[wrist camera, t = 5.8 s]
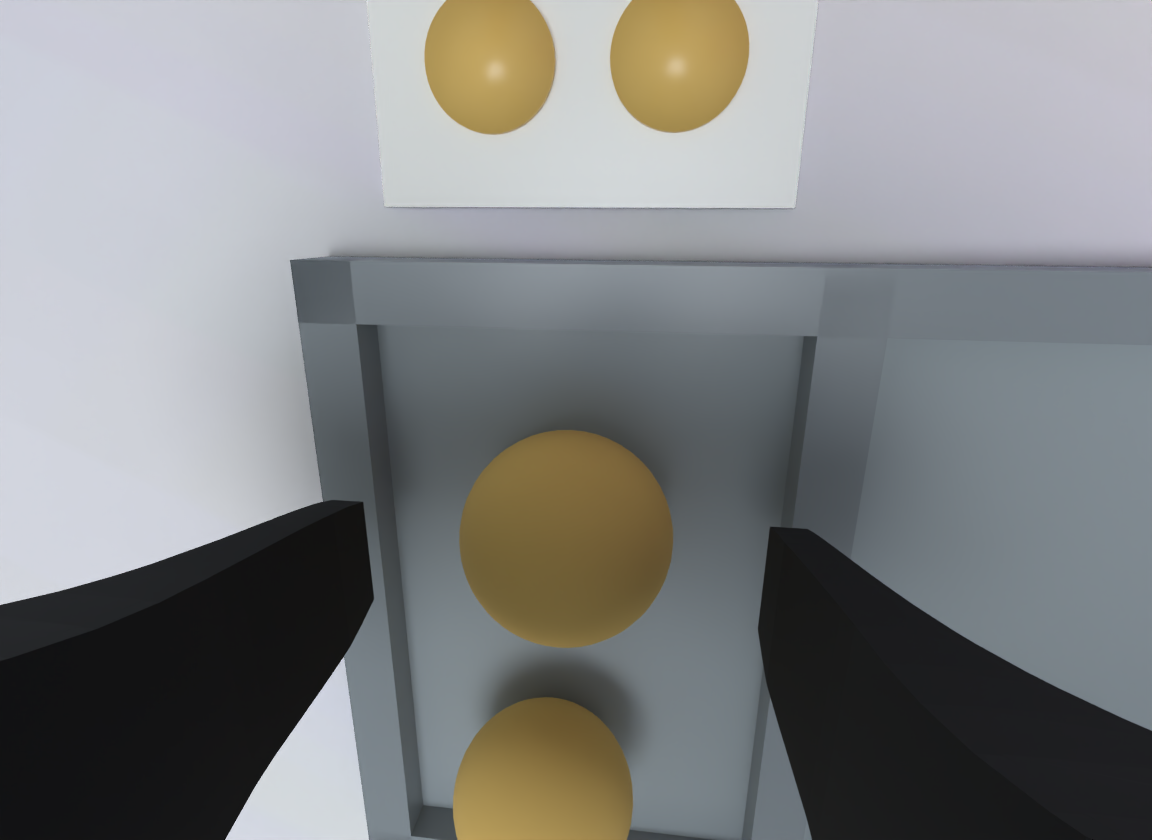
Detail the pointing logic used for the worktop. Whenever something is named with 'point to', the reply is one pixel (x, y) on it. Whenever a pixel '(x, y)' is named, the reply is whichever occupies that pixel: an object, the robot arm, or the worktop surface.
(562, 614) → the amber ball
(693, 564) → the sorting tray
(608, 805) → the amber ball
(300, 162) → the worktop surface
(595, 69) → the card
